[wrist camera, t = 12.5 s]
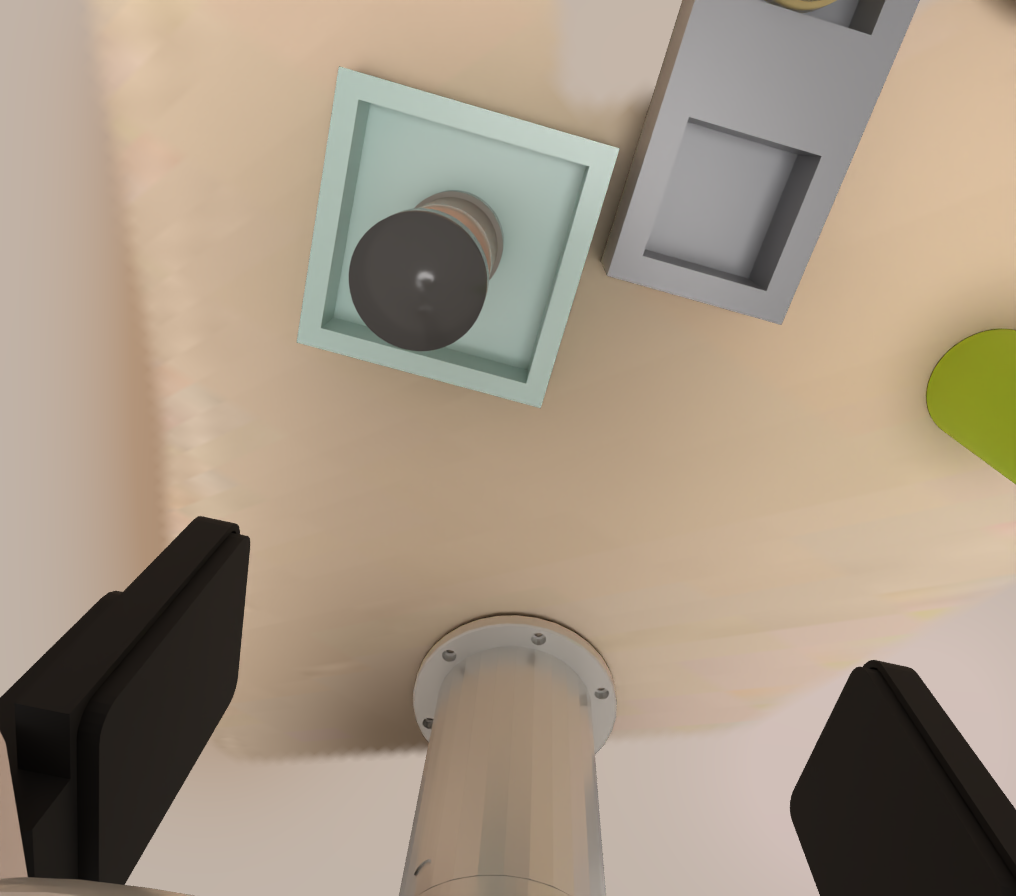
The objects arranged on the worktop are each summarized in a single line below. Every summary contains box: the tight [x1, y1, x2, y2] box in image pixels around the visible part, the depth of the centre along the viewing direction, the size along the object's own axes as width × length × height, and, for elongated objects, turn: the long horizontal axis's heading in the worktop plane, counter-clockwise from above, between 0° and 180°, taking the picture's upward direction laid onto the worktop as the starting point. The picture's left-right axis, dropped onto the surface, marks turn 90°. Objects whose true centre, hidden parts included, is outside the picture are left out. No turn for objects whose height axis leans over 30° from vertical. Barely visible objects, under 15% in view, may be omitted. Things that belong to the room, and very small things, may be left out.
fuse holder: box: [601, 0, 920, 325], centre depth 30 cm, size 18×8×4 cm, turn 165°
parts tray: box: [297, 66, 620, 408], centre depth 34 cm, size 12×12×3 cm
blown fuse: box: [349, 190, 504, 351], centre depth 29 cm, size 5×5×11 cm
